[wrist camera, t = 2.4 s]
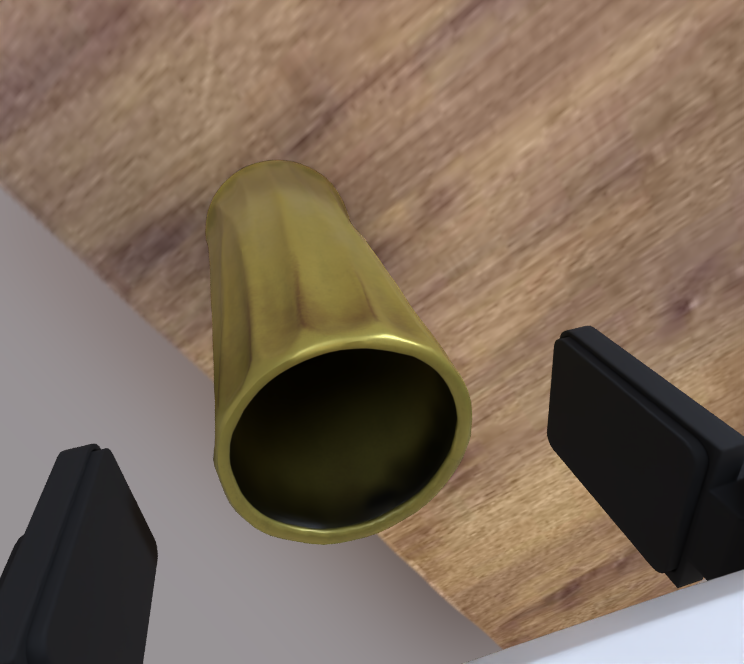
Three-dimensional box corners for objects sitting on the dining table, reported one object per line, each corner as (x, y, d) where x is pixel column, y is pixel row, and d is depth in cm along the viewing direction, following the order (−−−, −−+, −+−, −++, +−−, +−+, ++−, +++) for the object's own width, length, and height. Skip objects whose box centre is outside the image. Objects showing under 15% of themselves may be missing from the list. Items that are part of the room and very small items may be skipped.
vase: (257, 319, 24) (297, 599, 12) (173, 206, 20) (106, 432, 8) (370, 253, 23) (529, 466, 11) (304, 130, 20) (430, 245, 8)
